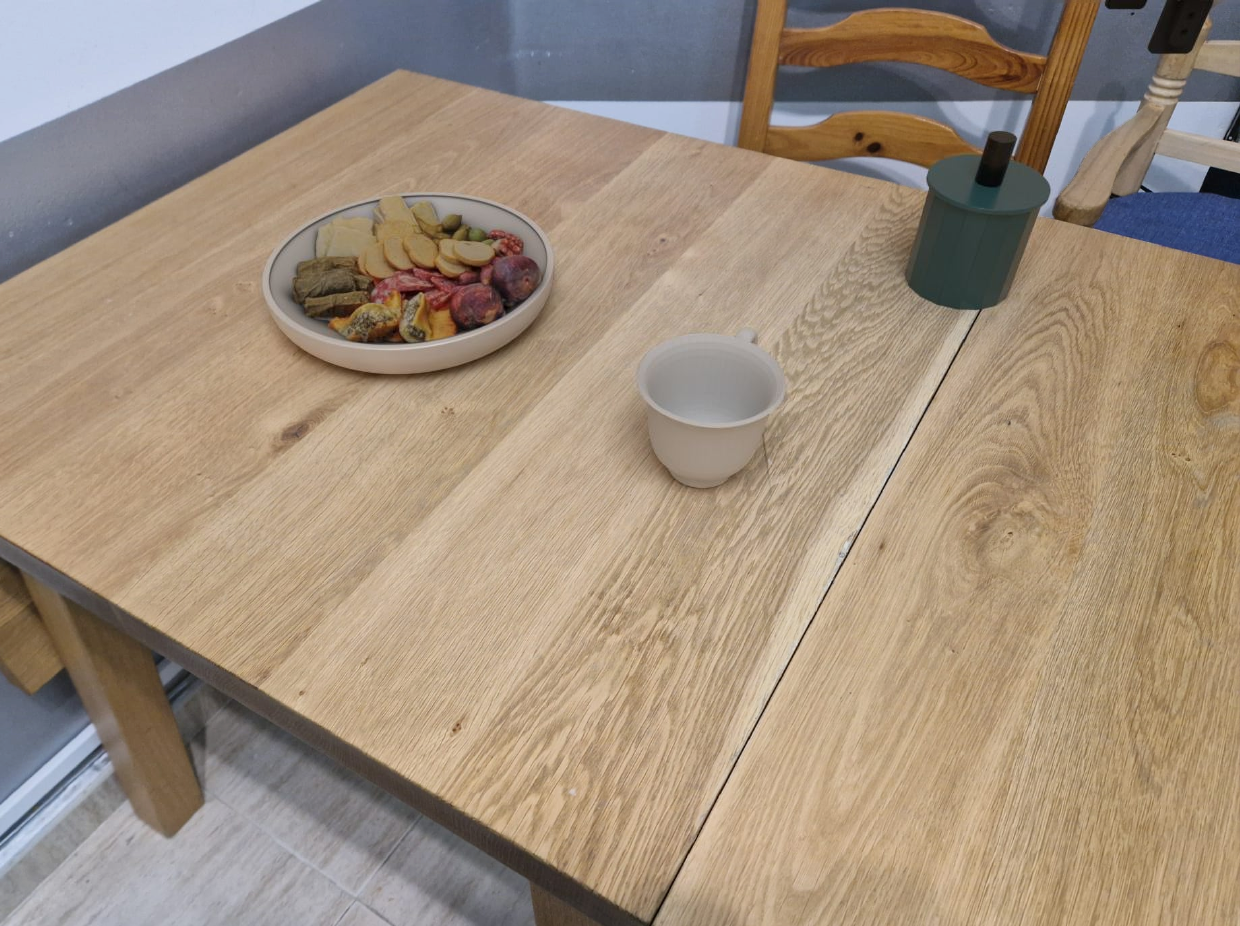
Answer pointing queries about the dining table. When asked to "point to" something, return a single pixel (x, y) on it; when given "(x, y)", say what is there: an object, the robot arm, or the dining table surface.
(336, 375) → the dining table surface
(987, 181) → the canister lid
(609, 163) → the dining table surface
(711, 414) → the teacup
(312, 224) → the bowl
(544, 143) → the dining table surface
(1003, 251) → the teal hollow cylinder
